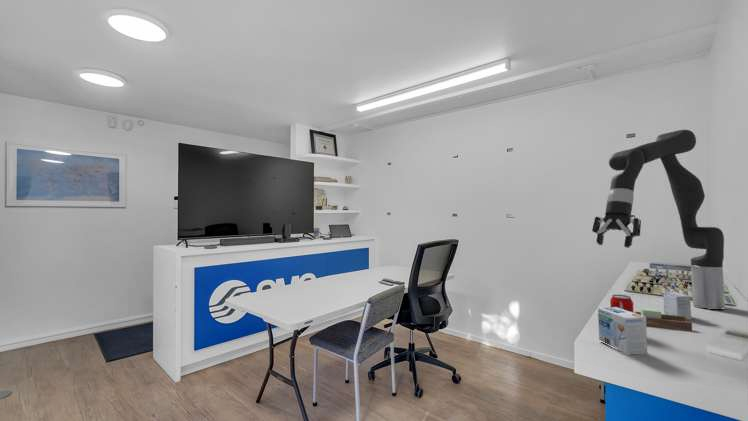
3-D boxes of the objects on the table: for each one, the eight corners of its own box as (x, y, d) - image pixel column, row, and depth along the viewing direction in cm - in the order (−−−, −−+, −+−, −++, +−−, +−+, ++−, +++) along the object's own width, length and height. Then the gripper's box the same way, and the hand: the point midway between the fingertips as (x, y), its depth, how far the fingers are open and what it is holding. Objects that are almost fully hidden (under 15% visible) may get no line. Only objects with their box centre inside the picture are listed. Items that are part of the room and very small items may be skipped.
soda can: (630, 329, 113) (628, 294, 113) (638, 335, 107) (636, 299, 107) (608, 327, 115) (607, 293, 115) (615, 334, 109) (613, 298, 109)
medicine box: (692, 320, 120) (690, 296, 121) (677, 319, 121) (676, 296, 121) (676, 313, 128) (675, 291, 128) (663, 313, 129) (662, 291, 129)
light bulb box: (598, 341, 103) (596, 307, 103) (617, 340, 104) (616, 306, 104) (627, 356, 93) (625, 317, 93) (649, 354, 93) (647, 316, 93)
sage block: (641, 320, 122) (640, 306, 122) (658, 322, 120) (657, 308, 120) (643, 324, 118) (643, 310, 118) (661, 326, 115) (661, 312, 115)
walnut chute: (635, 318, 124) (634, 311, 124) (684, 323, 117) (684, 316, 117) (639, 324, 117) (639, 317, 117) (692, 330, 110) (691, 323, 110)
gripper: (647, 205, 115) (641, 250, 113) (603, 205, 127) (596, 245, 126) (638, 199, 111) (631, 246, 110) (593, 200, 124) (586, 241, 122)
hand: (612, 245), depth 118 cm, fingers open, 8 cm apart
